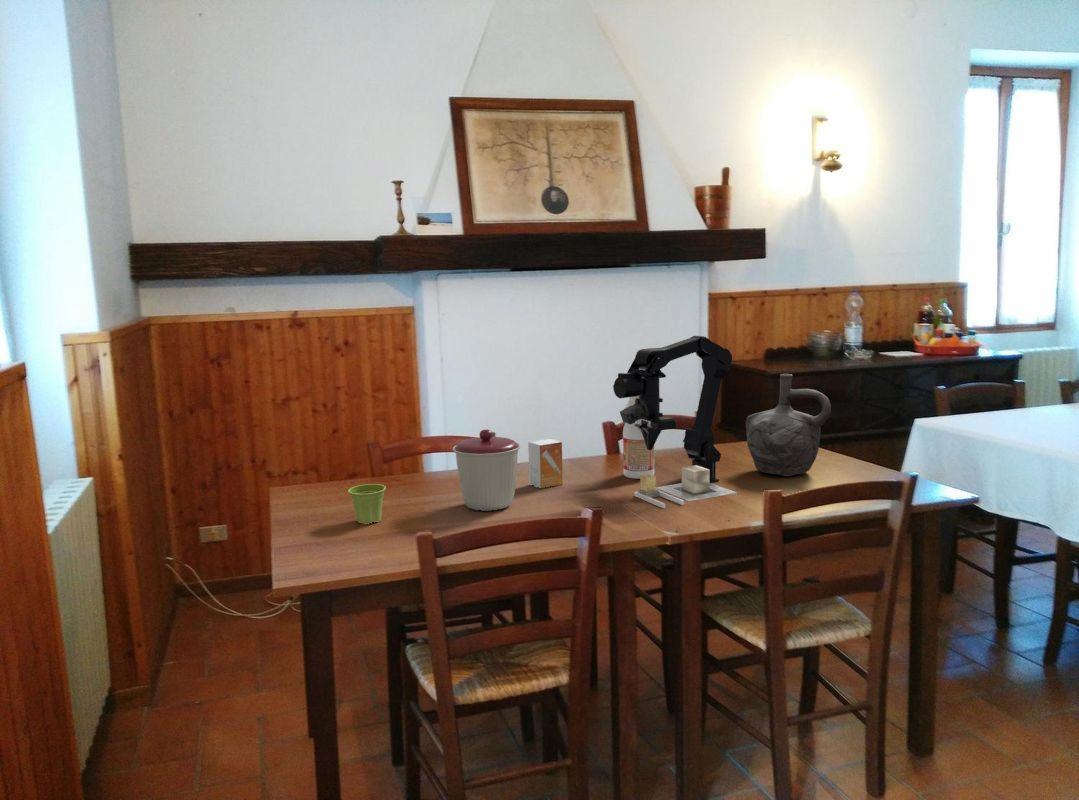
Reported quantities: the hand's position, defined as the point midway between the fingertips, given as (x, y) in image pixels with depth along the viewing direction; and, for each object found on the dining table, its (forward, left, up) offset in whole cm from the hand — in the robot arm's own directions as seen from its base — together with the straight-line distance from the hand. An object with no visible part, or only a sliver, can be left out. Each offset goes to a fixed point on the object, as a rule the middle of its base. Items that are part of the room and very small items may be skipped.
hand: (649, 449), depth 231 cm
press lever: (+5, +7, -11) cm, 14 cm away
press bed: (-9, +9, -12) cm, 17 cm away
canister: (+45, -10, -12) cm, 48 cm away
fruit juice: (-7, -17, -12) cm, 22 cm away
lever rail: (+5, +12, -12) cm, 18 cm away
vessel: (-45, +4, -12) cm, 47 cm away
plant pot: (+77, -13, -12) cm, 79 cm away
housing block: (-9, +9, -11) cm, 17 cm away
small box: (+22, -22, -12) cm, 33 cm away
